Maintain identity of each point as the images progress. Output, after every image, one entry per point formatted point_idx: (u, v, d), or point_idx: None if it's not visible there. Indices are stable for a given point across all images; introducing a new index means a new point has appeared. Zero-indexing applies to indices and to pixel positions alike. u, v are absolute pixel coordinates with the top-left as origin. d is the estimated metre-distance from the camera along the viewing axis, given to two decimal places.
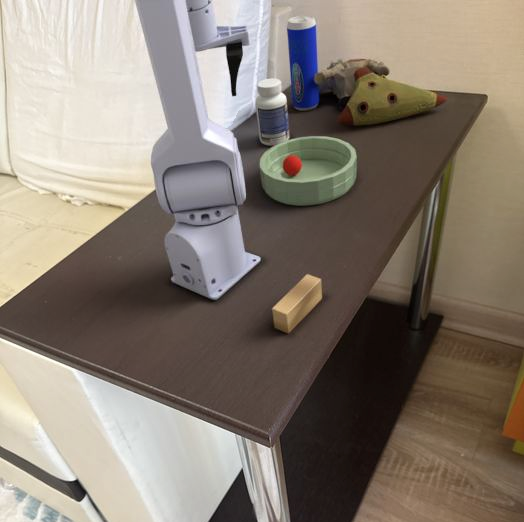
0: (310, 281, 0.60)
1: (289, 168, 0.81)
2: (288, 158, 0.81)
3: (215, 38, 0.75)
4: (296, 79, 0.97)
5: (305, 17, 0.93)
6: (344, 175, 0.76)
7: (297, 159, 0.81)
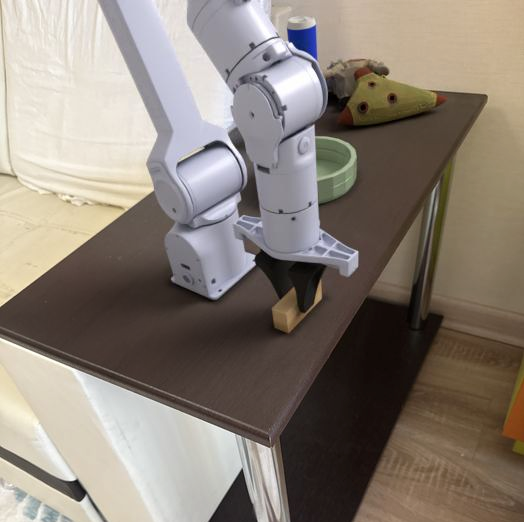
0: None
1: None
2: None
3: (303, 251, 0.52)
4: None
5: (305, 17, 0.93)
6: (344, 175, 0.76)
7: None
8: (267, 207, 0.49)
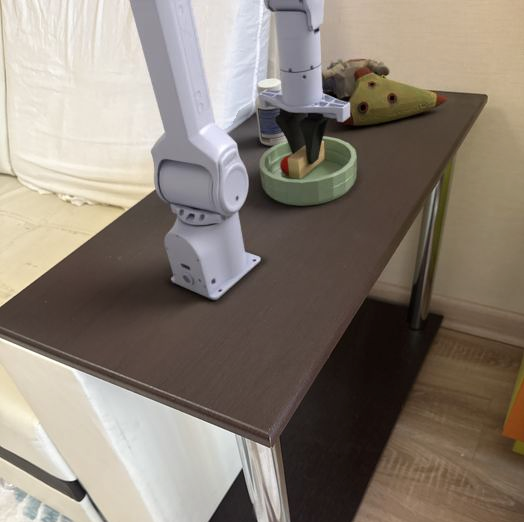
0: None
1: (287, 168, 0.81)
2: (284, 158, 0.81)
3: (310, 105, 0.72)
4: None
5: None
6: (344, 175, 0.76)
7: None
8: (318, 62, 0.70)
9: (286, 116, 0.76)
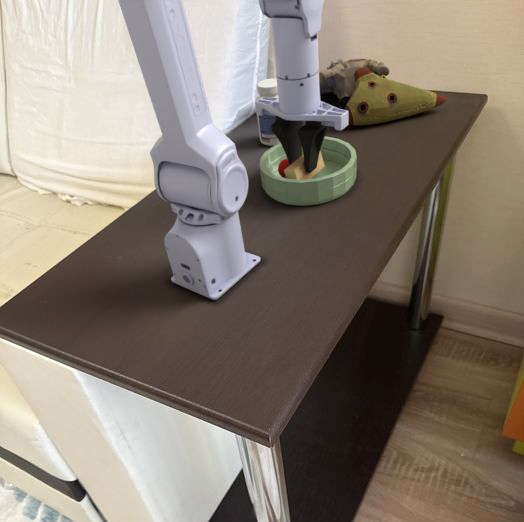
0: None
1: (283, 177, 0.81)
2: (280, 166, 0.81)
3: (308, 113, 0.71)
4: None
5: None
6: (344, 175, 0.76)
7: (288, 166, 0.80)
8: (316, 70, 0.68)
9: (282, 124, 0.75)
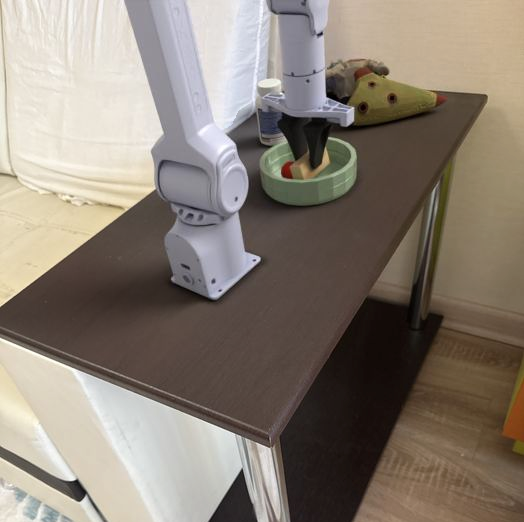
0: None
1: None
2: (285, 171, 0.80)
3: (314, 109, 0.71)
4: None
5: None
6: (344, 175, 0.76)
7: None
8: (322, 67, 0.69)
9: (288, 120, 0.75)
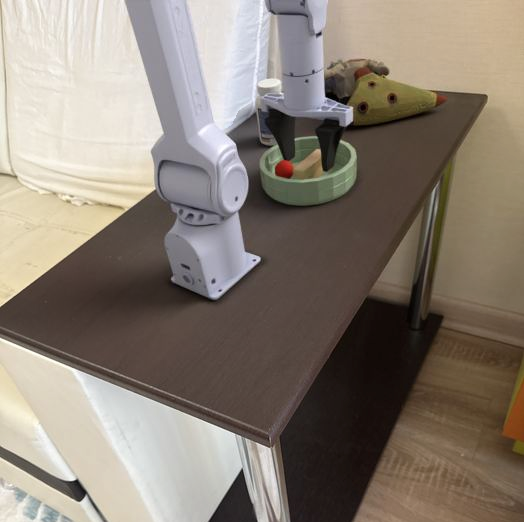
0: (319, 152, 0.81)
1: None
2: (276, 172, 0.81)
3: (313, 109, 0.71)
4: None
5: None
6: (344, 175, 0.76)
7: (284, 170, 0.80)
8: (321, 66, 0.69)
9: (275, 118, 0.77)
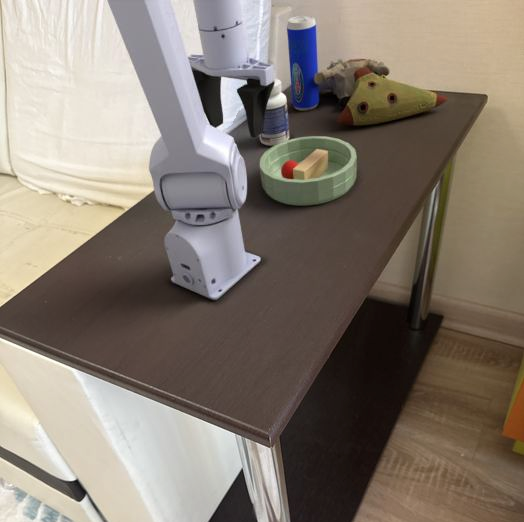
0: (319, 152, 0.81)
1: None
2: (284, 168, 0.80)
3: (233, 67, 0.68)
4: (296, 79, 0.97)
5: (305, 17, 0.93)
6: (344, 175, 0.76)
7: (291, 173, 0.80)
8: (241, 18, 0.66)
9: (197, 80, 0.73)
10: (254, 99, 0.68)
